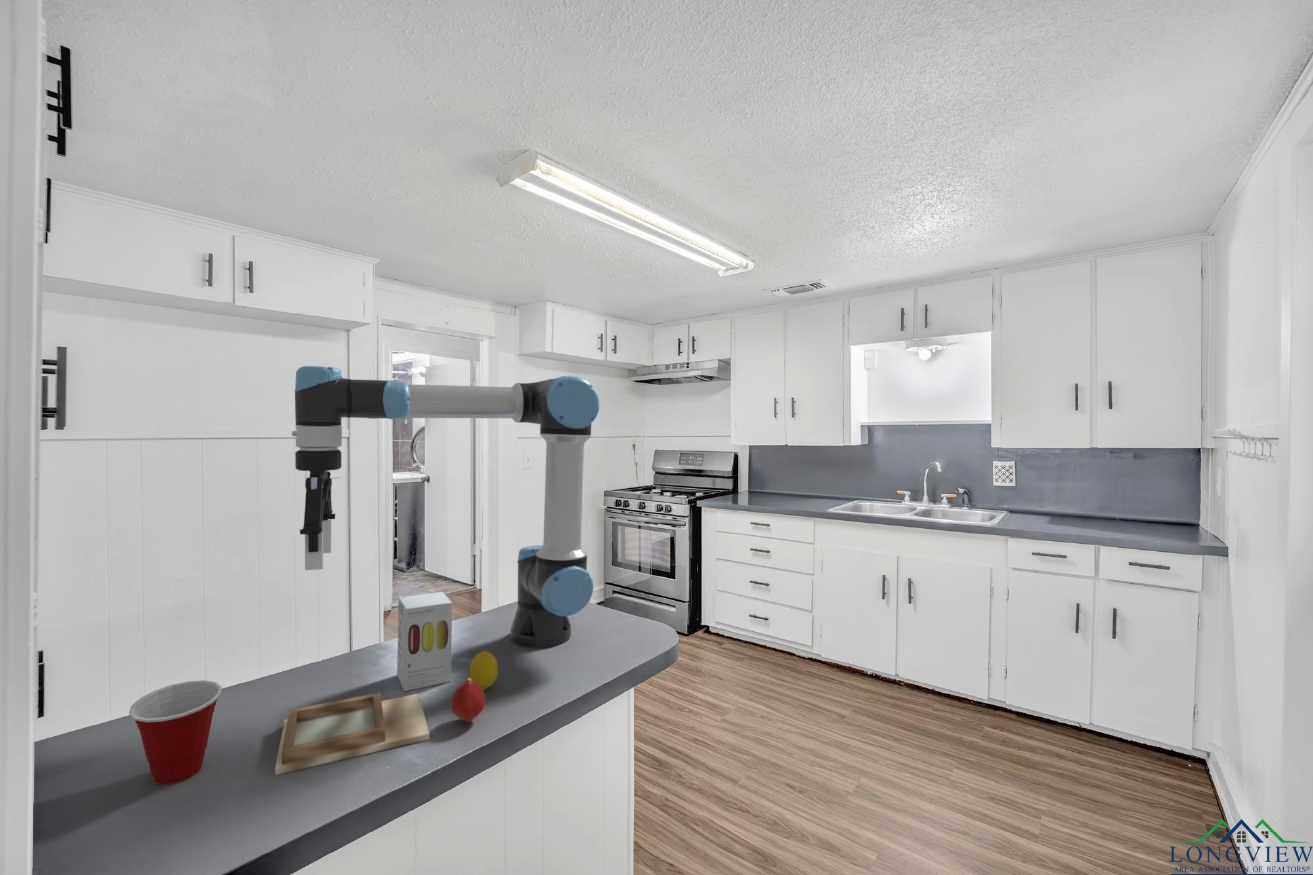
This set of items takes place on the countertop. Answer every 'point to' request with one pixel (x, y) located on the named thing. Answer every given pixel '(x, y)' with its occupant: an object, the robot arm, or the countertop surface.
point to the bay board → (349, 730)
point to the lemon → (484, 669)
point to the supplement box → (424, 640)
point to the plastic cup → (176, 728)
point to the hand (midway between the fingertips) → (319, 560)
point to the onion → (468, 700)
